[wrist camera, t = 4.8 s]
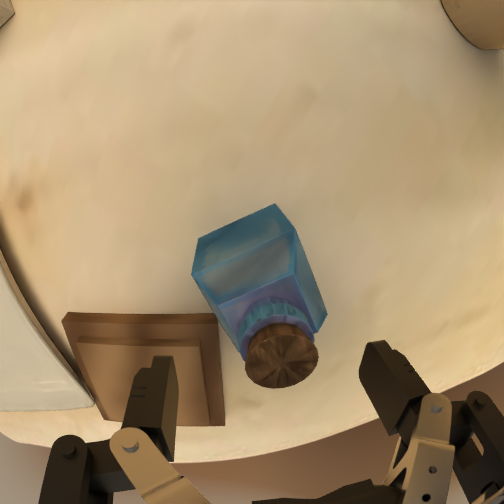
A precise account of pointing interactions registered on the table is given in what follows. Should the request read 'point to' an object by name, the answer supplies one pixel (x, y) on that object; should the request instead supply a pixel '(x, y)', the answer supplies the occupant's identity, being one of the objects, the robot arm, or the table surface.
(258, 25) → the table surface
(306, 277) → the perfume bottle
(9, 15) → the supplement box
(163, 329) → the pedestal
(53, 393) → the square plate
